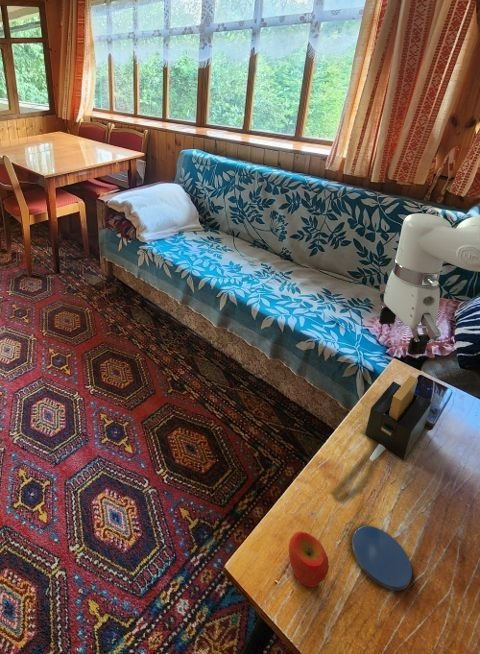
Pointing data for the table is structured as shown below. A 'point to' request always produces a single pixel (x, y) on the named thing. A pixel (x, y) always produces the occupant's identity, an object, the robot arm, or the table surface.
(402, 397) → the toast
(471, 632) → the table surface
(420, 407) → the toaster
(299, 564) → the apple
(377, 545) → the plate
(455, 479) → the table surface
